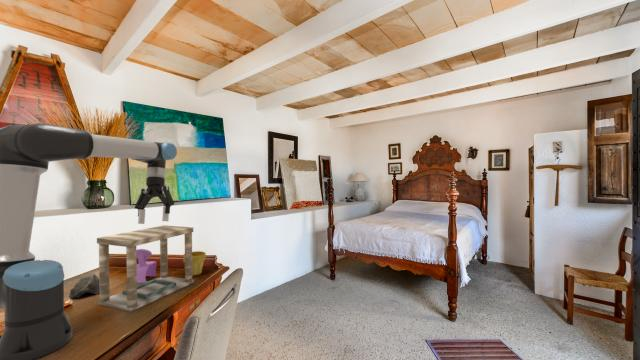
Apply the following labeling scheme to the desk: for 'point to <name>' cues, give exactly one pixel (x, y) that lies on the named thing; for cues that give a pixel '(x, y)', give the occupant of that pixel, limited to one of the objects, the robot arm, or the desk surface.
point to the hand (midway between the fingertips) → (153, 222)
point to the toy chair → (145, 265)
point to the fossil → (86, 286)
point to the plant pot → (197, 261)
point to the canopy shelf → (148, 290)
